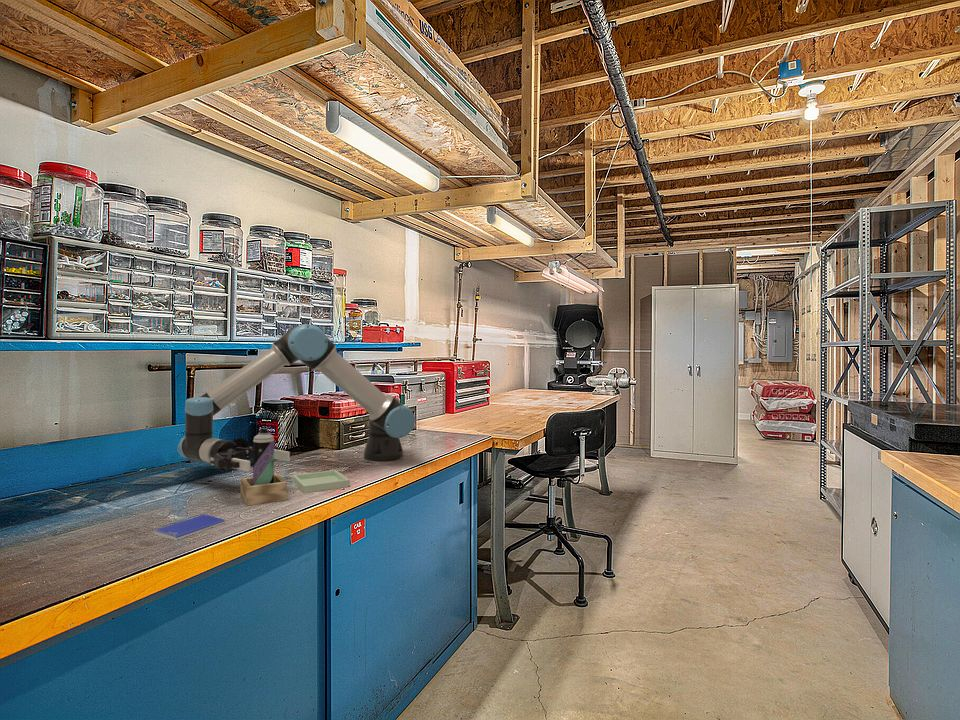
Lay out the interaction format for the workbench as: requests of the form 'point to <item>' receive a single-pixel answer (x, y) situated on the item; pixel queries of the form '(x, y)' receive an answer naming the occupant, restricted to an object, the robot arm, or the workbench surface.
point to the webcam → (242, 444)
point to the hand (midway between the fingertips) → (269, 461)
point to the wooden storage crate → (263, 491)
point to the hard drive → (188, 527)
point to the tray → (320, 481)
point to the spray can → (263, 458)
